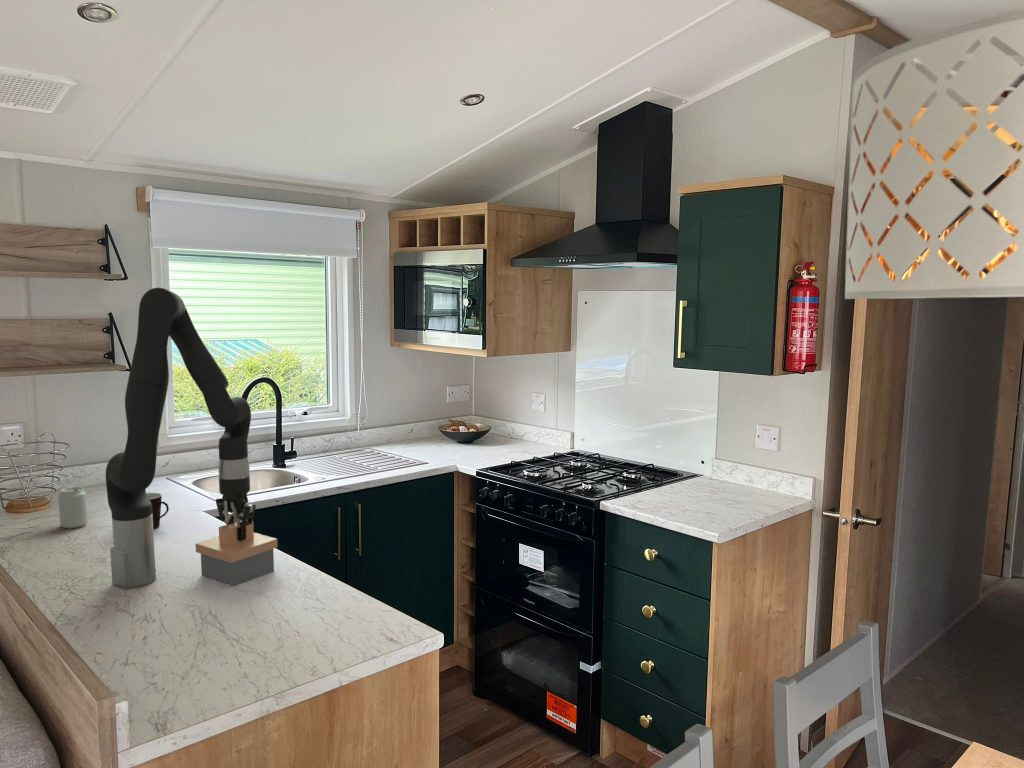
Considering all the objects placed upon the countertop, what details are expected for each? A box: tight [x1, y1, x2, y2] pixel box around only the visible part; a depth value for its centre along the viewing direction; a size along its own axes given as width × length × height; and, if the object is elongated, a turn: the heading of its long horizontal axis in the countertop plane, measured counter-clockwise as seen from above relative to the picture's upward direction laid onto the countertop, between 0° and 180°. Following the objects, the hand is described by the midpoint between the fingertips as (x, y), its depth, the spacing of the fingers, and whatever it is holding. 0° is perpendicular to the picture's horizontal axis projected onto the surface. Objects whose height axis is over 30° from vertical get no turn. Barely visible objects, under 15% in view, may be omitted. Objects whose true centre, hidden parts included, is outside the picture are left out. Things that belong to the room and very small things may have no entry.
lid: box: [195, 520, 279, 563], centre depth 199 cm, size 14×14×7 cm
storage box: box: [200, 549, 275, 587], centre depth 200 cm, size 13×13×8 cm
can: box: [57, 486, 89, 530], centre depth 240 cm, size 8×8×12 cm
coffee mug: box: [146, 492, 170, 530], centre depth 238 cm, size 12×9×10 cm
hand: (236, 538), depth 200 cm, fingers closed on lid, 3 cm apart
